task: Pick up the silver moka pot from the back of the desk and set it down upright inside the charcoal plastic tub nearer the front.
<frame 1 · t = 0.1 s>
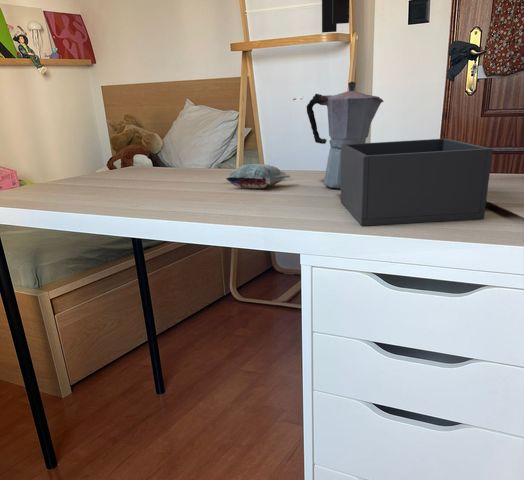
hand: (334, 28, 95), 29 cm above the table, tool pointing down, fingers open, 13 cm apart
packaged food: (258, 188, 118), on the table
moka pot: (343, 187, 113), on the table
tub: (405, 209, 88), on the table
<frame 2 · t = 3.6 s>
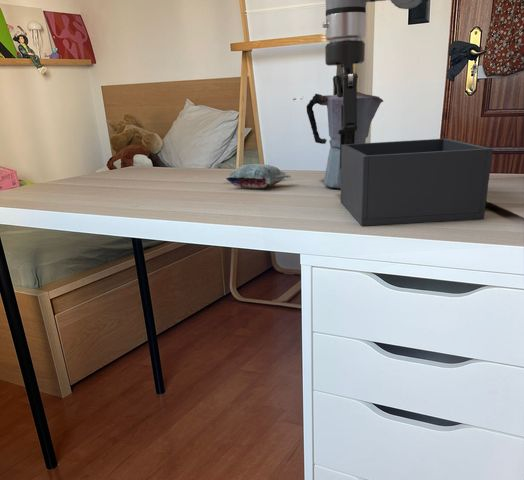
hand: (343, 165, 111), 4 cm above the table, tool pointing down, fingers closed on moka pot, 8 cm apart
moka pot: (343, 187, 113), on the table, touching gripper
everything else where it was.
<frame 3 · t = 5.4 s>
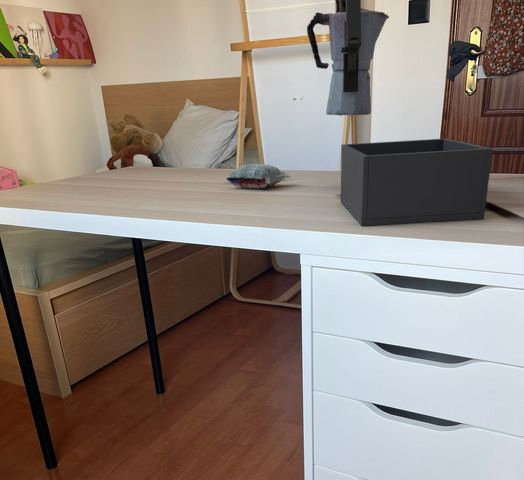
hand: (346, 92, 104), 18 cm above the table, tool pointing down, fingers closed on moka pot, 8 cm apart
moka pot: (346, 116, 106), point 14 cm above the table, touching gripper
everything else where it was.
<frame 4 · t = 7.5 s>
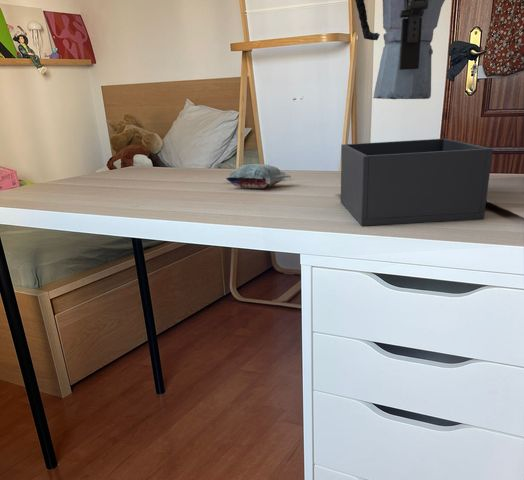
hand: (401, 70, 83), 21 cm above the table, tool pointing down, fingers closed on moka pot, 8 cm apart
moka pot: (399, 101, 85), point 17 cm above the table, touching gripper
everything else where it was.
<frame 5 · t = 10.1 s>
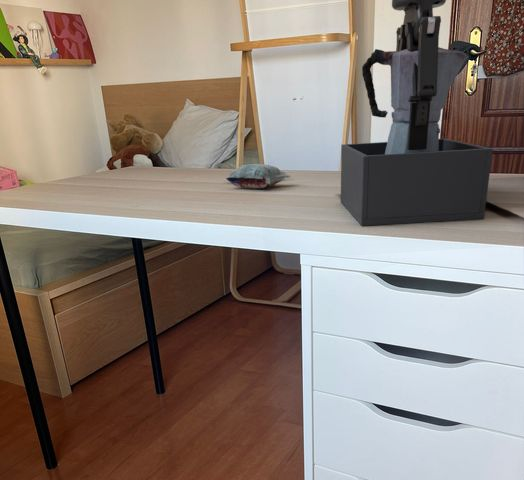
hand: (408, 146, 84), 10 cm above the table, tool pointing down, fingers closed on moka pot, 8 cm apart
moka pot: (406, 175, 86), point 6 cm above the table, touching gripper
everything else where it was.
when the fingers open (5 cm above the table, at t = 11.8 s): moka pot stays where it is, resting on tub.
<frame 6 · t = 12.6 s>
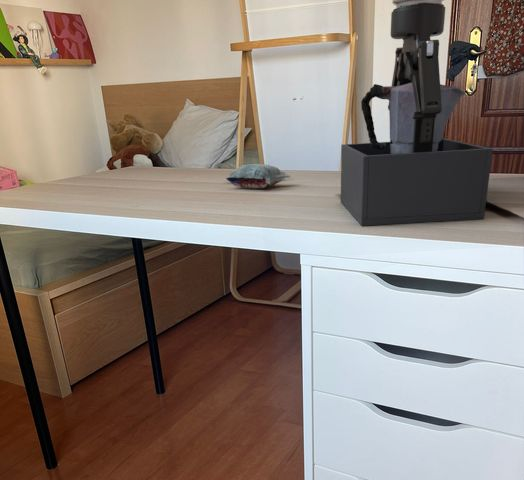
hand: (408, 161, 85), 8 cm above the table, tool pointing down, fingers open, 13 cm apart
moka pot: (405, 205, 88), point 1 cm above the table, touching tub
everything else where it was.
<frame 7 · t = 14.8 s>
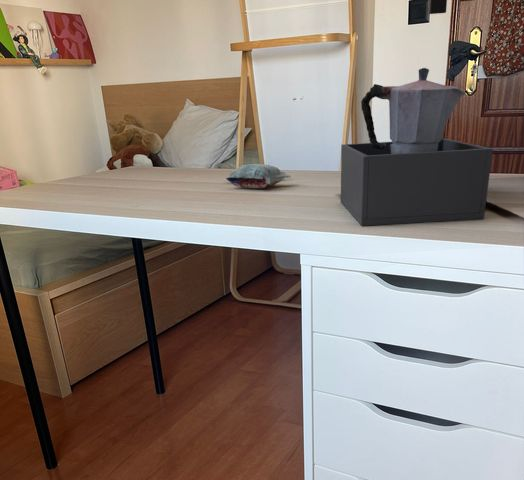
hand: (452, 7, 85), 30 cm above the table, tool pointing down, fingers open, 13 cm apart
nothing on the table moved.
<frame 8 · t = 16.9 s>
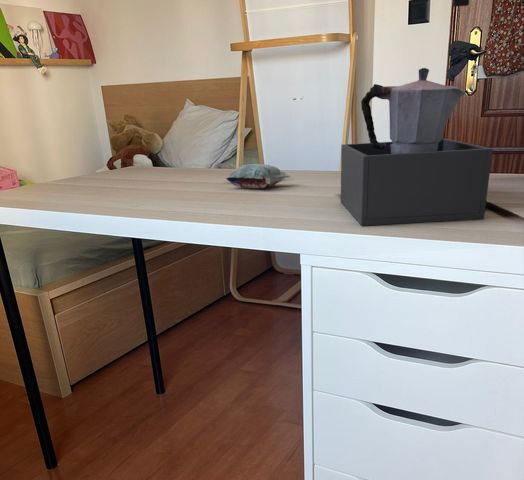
hand: (474, 0, 93), 32 cm above the table, tool pointing down, fingers open, 13 cm apart
nothing on the table moved.
at the end: moka pot inside the target area in the tub (0.0 cm from its centre), point 0.8 cm above the tub's base; moka pot tilted 0°; the gripper is holding nothing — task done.
